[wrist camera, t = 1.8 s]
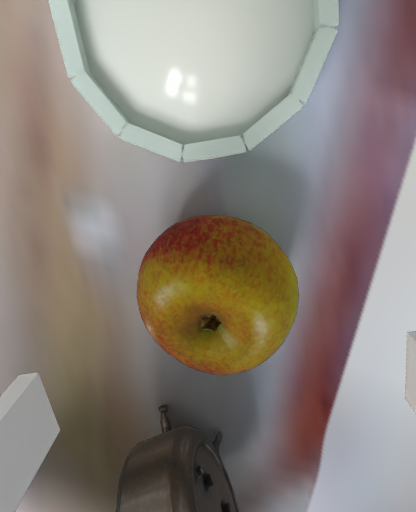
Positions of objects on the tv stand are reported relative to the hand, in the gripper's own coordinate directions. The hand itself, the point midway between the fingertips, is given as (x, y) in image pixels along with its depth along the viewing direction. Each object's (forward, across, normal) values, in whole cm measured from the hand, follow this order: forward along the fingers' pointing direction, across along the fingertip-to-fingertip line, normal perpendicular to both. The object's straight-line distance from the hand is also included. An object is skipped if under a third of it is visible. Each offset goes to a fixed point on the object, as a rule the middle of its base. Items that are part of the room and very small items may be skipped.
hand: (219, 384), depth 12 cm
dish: (+13, -1, -15) cm, 19 cm away
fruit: (+13, 0, 0) cm, 13 cm away
